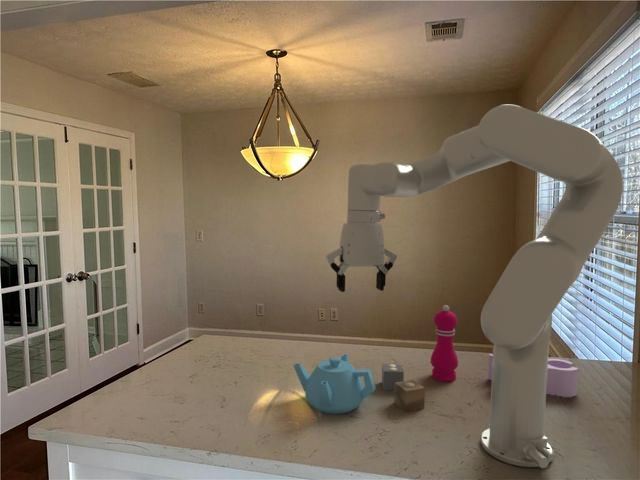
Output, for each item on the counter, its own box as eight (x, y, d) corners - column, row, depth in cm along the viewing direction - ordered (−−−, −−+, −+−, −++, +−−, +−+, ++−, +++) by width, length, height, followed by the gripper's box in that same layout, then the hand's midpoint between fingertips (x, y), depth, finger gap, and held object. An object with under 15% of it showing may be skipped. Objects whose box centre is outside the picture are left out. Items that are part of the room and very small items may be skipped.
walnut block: (424, 408, 100) (424, 387, 100) (405, 412, 98) (406, 390, 98) (412, 399, 105) (412, 379, 104) (394, 403, 103) (394, 382, 103)
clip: (565, 382, 116) (567, 357, 115) (582, 402, 104) (584, 374, 103) (486, 375, 120) (487, 351, 120) (493, 394, 108) (494, 367, 108)
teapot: (319, 424, 93) (319, 375, 92) (292, 396, 106) (292, 353, 105) (378, 409, 100) (379, 364, 99) (345, 385, 113) (346, 344, 112)
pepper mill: (454, 372, 122) (456, 302, 120) (460, 383, 114) (462, 308, 113) (428, 371, 122) (430, 301, 121) (432, 381, 115) (434, 307, 114)
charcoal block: (403, 391, 110) (403, 371, 109) (383, 390, 110) (383, 370, 110) (400, 382, 115) (401, 364, 114) (381, 382, 115) (382, 363, 115)
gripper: (391, 217, 107) (388, 286, 109) (323, 216, 103) (321, 287, 104) (404, 219, 100) (401, 292, 101) (332, 218, 95) (330, 294, 97)
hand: (360, 290), depth 103 cm, fingers open, 9 cm apart
